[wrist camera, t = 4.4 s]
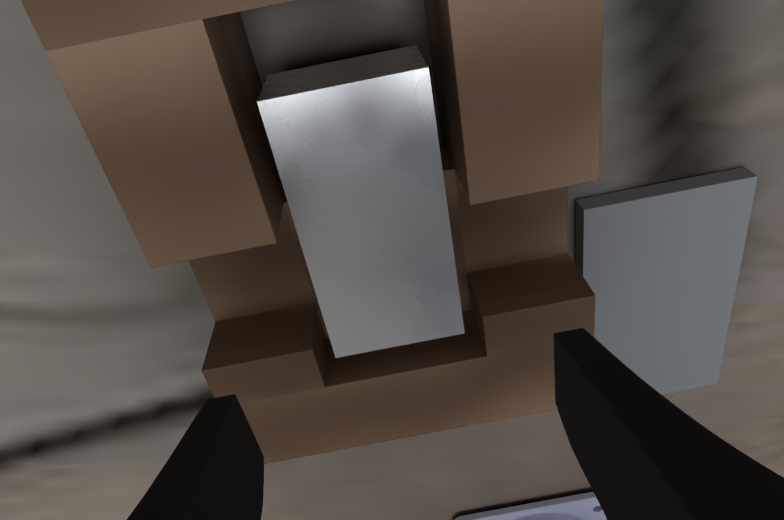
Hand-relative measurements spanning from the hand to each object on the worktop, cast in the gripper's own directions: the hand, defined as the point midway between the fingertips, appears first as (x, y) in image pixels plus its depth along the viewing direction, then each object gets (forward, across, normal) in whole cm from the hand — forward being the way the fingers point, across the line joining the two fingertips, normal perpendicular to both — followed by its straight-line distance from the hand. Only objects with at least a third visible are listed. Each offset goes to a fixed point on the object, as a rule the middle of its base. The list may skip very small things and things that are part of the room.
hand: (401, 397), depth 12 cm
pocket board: (+9, 0, -2) cm, 9 cm away
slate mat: (+9, -10, +6) cm, 15 cm away
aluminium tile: (+7, 0, -2) cm, 7 cm away
